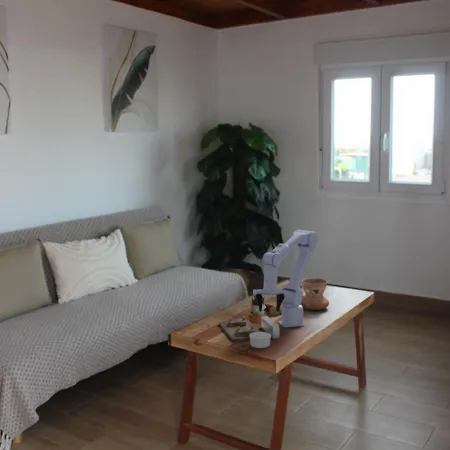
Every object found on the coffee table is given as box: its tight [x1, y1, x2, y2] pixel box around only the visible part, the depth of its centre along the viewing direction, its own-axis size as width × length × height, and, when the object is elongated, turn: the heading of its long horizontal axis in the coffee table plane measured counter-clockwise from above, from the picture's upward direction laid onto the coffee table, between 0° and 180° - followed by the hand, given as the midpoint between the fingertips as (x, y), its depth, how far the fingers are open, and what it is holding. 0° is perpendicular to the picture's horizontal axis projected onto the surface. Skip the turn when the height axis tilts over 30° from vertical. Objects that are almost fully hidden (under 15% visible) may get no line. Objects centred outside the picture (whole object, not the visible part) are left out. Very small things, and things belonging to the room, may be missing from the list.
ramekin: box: [249, 331, 272, 349], centre depth 249 cm, size 9×9×4 cm
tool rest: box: [218, 316, 261, 343], centre depth 265 cm, size 14×24×4 cm, turn 14°
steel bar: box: [260, 315, 280, 339], centre depth 264 cm, size 16×3×5 cm, turn 15°
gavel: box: [264, 303, 282, 316], centre depth 299 cm, size 21×5×10 cm
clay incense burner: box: [300, 277, 330, 311], centre depth 299 cm, size 18×14×14 cm
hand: (268, 311), depth 263 cm, fingers open, 7 cm apart
